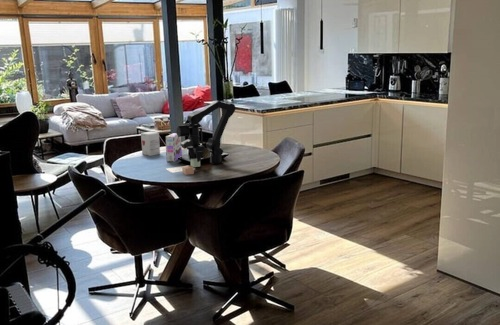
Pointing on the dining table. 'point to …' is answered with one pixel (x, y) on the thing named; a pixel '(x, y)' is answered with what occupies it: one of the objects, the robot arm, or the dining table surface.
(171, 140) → the candy box
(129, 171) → the dining table surface
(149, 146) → the supplement box
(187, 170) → the terracotta block
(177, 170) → the letter
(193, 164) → the green cube
